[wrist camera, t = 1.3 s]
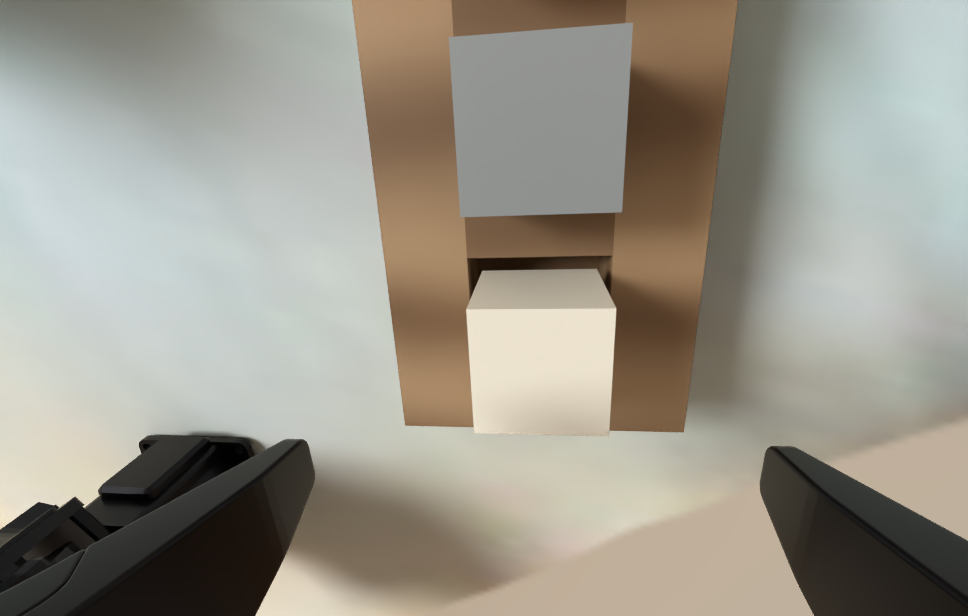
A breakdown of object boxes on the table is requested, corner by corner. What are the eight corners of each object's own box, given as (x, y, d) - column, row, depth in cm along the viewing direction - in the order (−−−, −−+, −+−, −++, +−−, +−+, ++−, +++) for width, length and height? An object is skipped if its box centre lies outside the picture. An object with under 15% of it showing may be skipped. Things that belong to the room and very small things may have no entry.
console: (657, 380, 21) (683, 432, 17) (427, 377, 22) (405, 425, 18) (719, -268, 13) (791, -428, 10) (366, -215, 15) (309, -338, 11)
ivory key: (592, 371, 17) (608, 436, 13) (487, 370, 17) (474, 432, 14) (596, 268, 15) (616, 308, 12) (482, 270, 16) (466, 309, 12)
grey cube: (599, 194, 15) (622, 212, 11) (478, 199, 15) (460, 217, 11) (605, 57, 13) (632, 22, 10) (472, 66, 14) (448, 37, 10)
